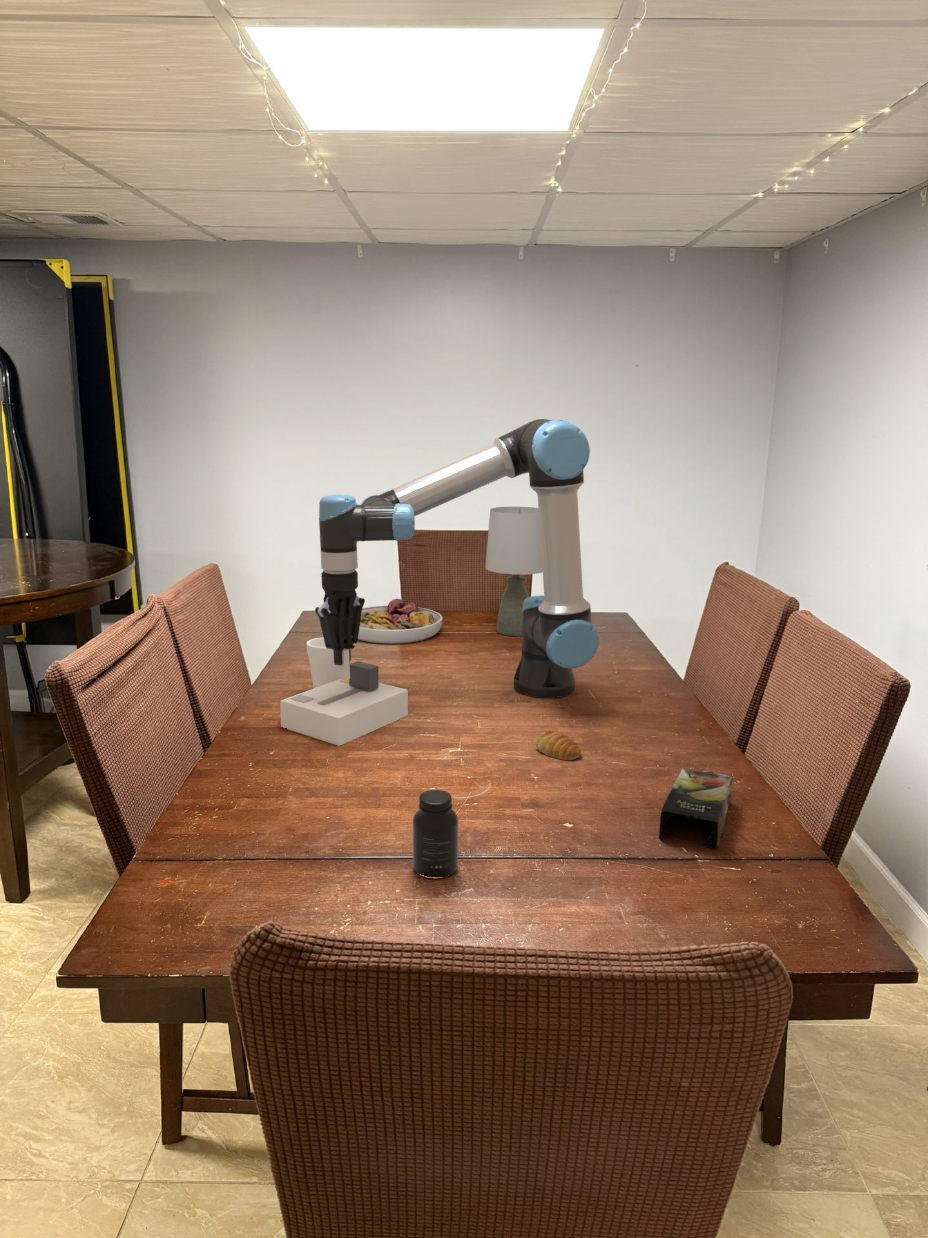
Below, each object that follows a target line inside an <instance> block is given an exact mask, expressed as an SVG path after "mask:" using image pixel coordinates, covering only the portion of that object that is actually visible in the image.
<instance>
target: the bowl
mask: <svg viewBox="0 0 928 1238" xmlns="http://www.w3.org/2000/svg"><path fill="white" fill-rule="evenodd" d="M442 626H443V615H442V614H441V613H440V612H437V611H434V610H432V609H429V608H424V607H418V605H417V604H416V603H415V602H409V603H407V604H406V605H405V602H404V601H403V599H401V598H394V599H392V600H391V601H389V602H388V605H378V606H377V605H376V606H368V607H363V608H362V613H361V620H360V628H359V635H358V641H363V642H367V643H373V644H384V645H386V644H387V645H391V644H392V645H397V644H410V643H415V642H420V641H425V640H427V639H429V638H432V637H434V635H435V636H436V634H437V633H439V631H440V630H441V628H442ZM352 637H353V636H352Z"/></svg>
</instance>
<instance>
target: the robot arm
mask: <svg viewBox="0 0 928 1238" xmlns="http://www.w3.org/2000/svg"><path fill="white" fill-rule="evenodd" d="M590 450H591V449H590V444H589V440H588V437H587V436H586V434H585V433H584V432H583V430H581V429H580V427H578V426H577V425H575V424H573V423H571V422H569V421H566V420H562V419H546V418H541V419H535V420H532V421H529V422H527V423H525V424H523V425H521V426H519V427H517V428H515V429H513V430H511V431H509V432H507V433H505V434H503V435H501V436H499V437H497V438H495V439H494V442H493V443H492V445H490V446H488V447H485V448H483V449H481V450H479V451H476V452H474V453H471V454H469V455H467V456H465V457H462V458H460V459H459V460H455V461H453V462H451V463H449V464H446V465H445V466H442V467H439V468H438V469H435V470H433V471H431V472H428V473H426V474H424V475H421V476H420V477H417V478H414V479H412V480H410V481H408V482H406V483H403V484H402V485H399V486H396V487H395V488H393V489H390V490H388V491H387V490H386V491H385V492H383V493H381V494H379V495H378V494H374V495H370V496H367V497H366V498H364V499H363V501H361V504H358V503H357V500H356V499H357V498H355V496H354V495H349V494H348V495H347V494H330V495H325V496H323V497H321V499H320V500H319V501H318V502H319V503H318V504H319V505H318V506H319V507H318V508H319V509H318V513H319V514H318V527H319V545H320V566H321V567H320V568H321V570H323V571H322V572H321V574H320V575H321V576H320V577H321V588H322V590H323V591H324V596H323V603H322V604H321V606H317V607H315V609H314V611H315V614H316V615H317V617H318V618H319V623H320V624H319V625H320V627H321V632H322V633H321V634H322V637H324V642H325V646H326V648H328V649H332V650H333V652H334V664H335V665H336V678H339V679H343V680H347V679H350V664H351V660H352V657H351V656H352V651H351V650H353V649H355V647H356V646H355V645H354V644H358V642H359V640H358V635H359V628H360V620H361V613H362V608H364V604H365V603H366V600H365V598H364V597H360V596H358V594H357V591H356V589H358V586H359V576H358V575H359V572H358V571H357V570H356V569H358V566H359V564H358V542H376V541H377V542H379V541H381V542H383V541H386V542H387V541H395V542H399V541H404V540H410V539H412V538H414V535H415V528H416V522H415V521H416V520H415V517H417V516H420V515H421V514H423V513H426V512H428V511H430V510H432V509H435V508H436V507H439V506H441V505H444V504H445V503H448V502H451V501H453V500H454V499H458V498H459V497H461V496H464V495H466V494H468V493H471V492H473V491H475V490H477V489H481V488H482V487H485V486H486V485H489V484H491V483H494V482H496V481H498V480H501V479H503V478H504V477H505V478H506V477H508V478H510V479H514V478H516V477H518V476H520V475H524V474H527V473H528V475H529V477H528V478H529V487H530V489H531V490H533V491H534V492H535V493H536V494H537V508H538V510H539V524H540V539H541V554H542V569H543V572H542V581H543V595H533V596H532V595H531V596H529V597H528V598H526V599H525V600H524V603H523V609H522V613H523V620H522V636H521V656H520V660H519V663H518V665H517V668H516V670H515V674H514V676H513V683H512V684H513V685H512V686H513V689H514V690H515V691H516V692H517V693H519V694H522V695H524V696H528V697H533V698H543V699H549V698H551V699H552V698H562V697H566V696H569V695H571V694H573V693H574V692H575V691H576V678H575V674H574V670H573V669H577V668H580V667H583V666H585V665H587V664H588V663H589V662H590V661H591V660H592V659H593V658H594V657H595V655H596V654H597V652H598V650H599V647H600V636H599V632H598V630H597V628H596V627H595V626H594V625H593V624H592V611H591V610H592V608H591V603H590V602H589V601H588V600H586V598H584V590H583V589H584V588H583V587H584V586H583V574H582V573H583V572H582V569H583V568H582V556H581V555H582V554H581V538H580V536H581V535H580V520H579V518H580V517H579V516H580V515H579V498H578V491H579V489H581V487H582V486H583V484H584V483H585V480H584V479H585V476H584V469H585V468H586V467H587V464H588V462H589V459H590V453H591V451H590ZM352 636H353V637H352Z"/></svg>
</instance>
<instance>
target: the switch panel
mask: <svg viewBox="0 0 928 1238" xmlns="http://www.w3.org/2000/svg"><path fill="white" fill-rule="evenodd" d="M408 694H409V690H408V689H405V688H401V687H398V686H393V685H391V684H387V683H382V682H379V688H377V689H374V690H372V691H367V690H363V689H359V688H356V687H352V686H349V679H347V680H343V679H339V680H336V681H334V682H331V683H328V684H325V685H322V686H320V687H317V688H314V687H313V688H311V689H309V690H306V691H303V692H300V693H298V694H295V695H292V696H289V697H286V698H284V699H281V700H279V705H280V706H279V707H280V710H279V711H280V727H281V728H282V727H283V729H285V728H287V729H286V730H288V731H292V732H295V733H298V734H301V735H304V736H307V737H310V738H314V739H317V740H320V741H322V742H326V743H329V744H332V745H335V746H338V747H340V746H342V745H345V744H347V743H349V742H351V741H354V740H356V739H358V738H360V737H363V736H365V735H367V734H369V733H372V732H375V731H376V730H378V729H380V728H383V727H385V726H387V725H389V724H392V723H395V722H396V721H398V720H401V719H404V718H405V717H408V715H409V699H408V698H409V695H408Z"/></svg>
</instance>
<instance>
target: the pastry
mask: <svg viewBox="0 0 928 1238" xmlns="http://www.w3.org/2000/svg"><path fill="white" fill-rule="evenodd" d="M535 747H536V748H537V750H538V751H539V752H540V753H543V754H544V755H546V756H548V757H552V758H555V759H558V760H562V761H573V760H575V759H578V758H579V757H580V755H581V753H582V749H581V748H580V747H579V745H578V743H576V742H575V740H574V739H572V738H570V737H569V735H567V734H563V733H562V732H555V731H554V730H552V729H547V730H544V731H543V732H542V733H540V734H539V736H538V737H537V739H536V742H535Z"/></svg>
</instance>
